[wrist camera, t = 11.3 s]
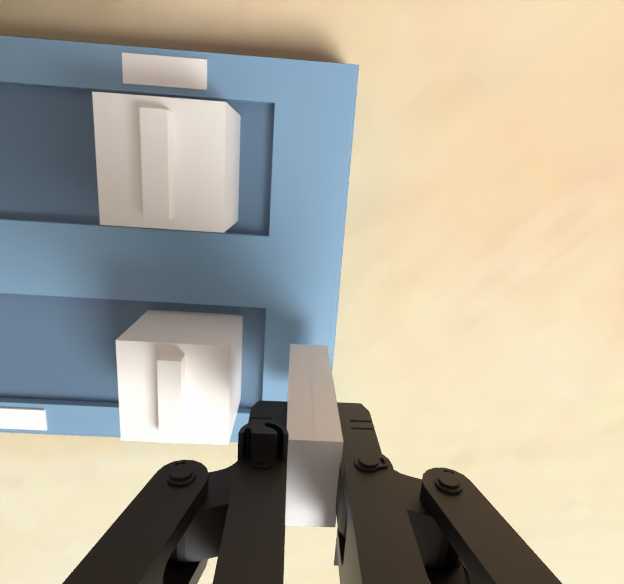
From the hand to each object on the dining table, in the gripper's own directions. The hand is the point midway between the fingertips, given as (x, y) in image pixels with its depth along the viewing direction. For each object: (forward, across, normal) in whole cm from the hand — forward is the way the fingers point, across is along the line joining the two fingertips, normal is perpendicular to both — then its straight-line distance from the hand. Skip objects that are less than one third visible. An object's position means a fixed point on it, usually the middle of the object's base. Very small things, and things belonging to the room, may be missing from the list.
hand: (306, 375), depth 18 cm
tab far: (+2, -5, 0) cm, 5 cm away
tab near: (+2, -5, +8) cm, 10 cm away
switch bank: (+3, -9, +4) cm, 10 cm away
